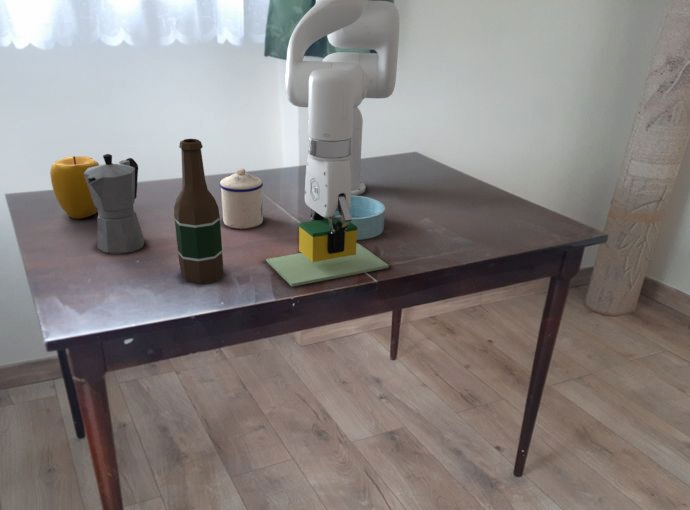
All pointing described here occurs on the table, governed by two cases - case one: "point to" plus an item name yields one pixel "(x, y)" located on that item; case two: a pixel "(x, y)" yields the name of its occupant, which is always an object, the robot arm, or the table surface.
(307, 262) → the mat
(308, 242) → the sponge
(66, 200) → the apple
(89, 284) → the table surface
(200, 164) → the beer bottle
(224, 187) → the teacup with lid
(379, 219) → the bowl
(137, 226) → the coffeepot
